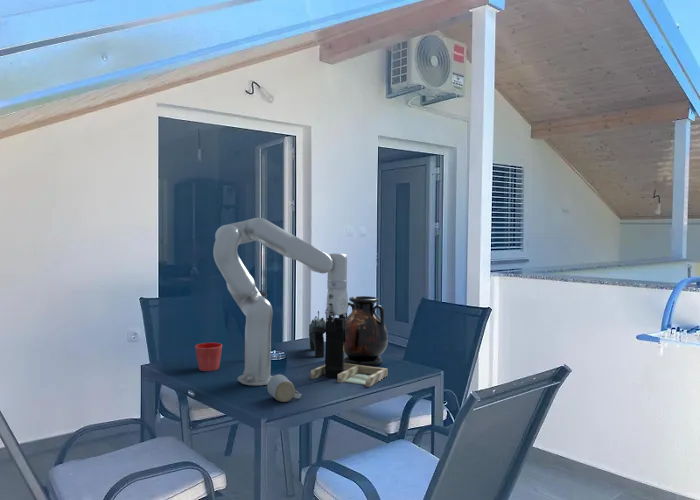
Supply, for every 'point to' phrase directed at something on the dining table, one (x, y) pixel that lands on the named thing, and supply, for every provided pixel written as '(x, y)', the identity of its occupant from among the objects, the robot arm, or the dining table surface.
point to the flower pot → (208, 356)
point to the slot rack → (355, 374)
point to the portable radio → (335, 349)
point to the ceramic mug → (282, 389)
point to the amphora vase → (365, 332)
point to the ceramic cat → (317, 336)
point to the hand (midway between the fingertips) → (336, 329)
